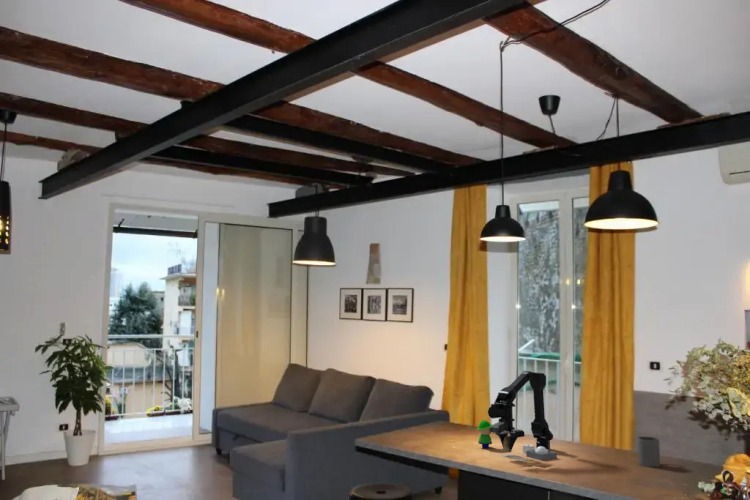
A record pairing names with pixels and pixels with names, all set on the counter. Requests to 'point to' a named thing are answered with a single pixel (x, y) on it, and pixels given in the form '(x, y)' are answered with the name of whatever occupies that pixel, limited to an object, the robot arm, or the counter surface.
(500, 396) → the robot arm
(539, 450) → the dome
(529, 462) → the board
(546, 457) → the base
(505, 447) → the pawn
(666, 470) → the counter surface
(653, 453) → the mug
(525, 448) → the die
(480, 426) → the toy
